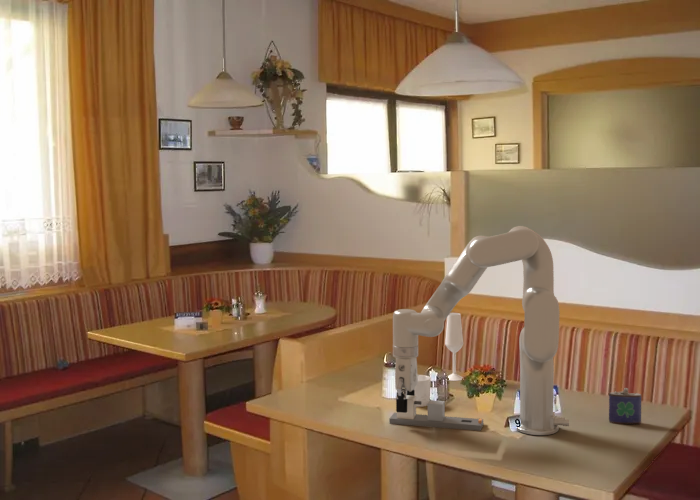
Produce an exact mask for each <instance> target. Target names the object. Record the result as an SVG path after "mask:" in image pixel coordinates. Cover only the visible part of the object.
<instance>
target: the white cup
mask: <svg viewBox="0 0 700 500" xmlns="http://www.w3.org/2000/svg"><path fill="white" fill-rule="evenodd" d="M417 377H418V383H417V386H416V387H415V388H414V390H415V396H416V401H421V405H418V404H416V408H419V407H422V408H423V407H426V406H427V407H428V402H429V401H430V400H431V399H430V397H431V380H432V379H431V377H430V376H429V375H424V374H417Z"/></svg>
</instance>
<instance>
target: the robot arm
mask: <svg viewBox="0 0 700 500" xmlns="http://www.w3.org/2000/svg"><path fill="white" fill-rule="evenodd" d="M518 261H521V263H522V267H523V276H522V277H523V282H522V283H523V285H522V286H523V287H522V288H523V289H522V298H521V299H522V301H521V305H522V309H523V312H524V321H523V322H524V324H523V325H524V326H523V328H522V329H521V331H520V334H519V338H518V339H519V340H518V341H519V342H518V343H519V345H518V346H519V366H520V369H519V370H520V371H519V372H520V373H519V375H520V376H519V420H520V419H521V425H522V426H521V427H517V430H516V431H518V432H520V433H523V434H526V435H532V436H547V435H548V436H549V435H553V434H556V433H557V432H559V429H560V428H559V427H560V426H563V427H569V426H570V419H566V417H560V416H559V417H558V416H557V415H556V412H555V411H554V377H555V376H554V375H555V373H554V371H555V369H554V368H555V367H554V365H555V363H554V357H555V355H556V354H557V352H558V349H559V343H560V342H559V339H560V313H561V312H560V304H559V301H558V299H557V297H556V296H555V292H554V287H555V285H554V284H555V283H554V281H555V279H554V278H555V277H554V272H555V271H554V259H553V255H552V252H551V249H550V247H549V245H548V244H547V242H546V241H545V239H544V238H543V237H542V236H541V235H540V234H539V233H537V231H534V230H533V229H532V228H529V227H527V226H525V225H517V226H513V227H512V228H511V229H510V230H509V231H508V232H505V233H500V234H496V235H491V236H487V235H477V236H474V237H472V239H470V241H469V242H467V244H466V245H465V247H464V249H463V250H462V252H461V253H460V255H459V257H458V258H457V259H456V260H455V262H454V263H453V265H452V267H451V268H450V269H449V270H448V272H447V273H446V274H445V276H444V278H443V280H442V281H441V283H440V284H439V285H438V287H437V288H436V290H435V291H434V293H433V294H432V296H431V297H430V298H429V299H428V301H427V302H426V304H425V305H424V307H423V308H422V310H421V311H420V312H417V311H416V310H415V309H411V308H410V309H409V308H401V309H397V310H394V312H393V314H392V357H393V358H395V368H394V370H395V371H394V375H395V376H394V378H395V379H394V384H395V385H394V387H395V388H394V389H395V390H396V396H395V398H396V399H395V408H396V409H395V411H396V413H397V412H403V413H406V412H407V399H406V396H407V395H412V396H415V390H414V388H415V387H416V386H417V383H418V377H417V375H418V361H417V360H418V359H417V358H418V357H419V336H420V337H421V336H422V337H427V338H433V337H437V336H439V335H440V334H441V333H442V332H443V331H444V328H445V321H447V317H448V315H449V314H450V313H452V311H453V309H454V308H455V307H456V305H457V304H458V303H459V302H460V301H461V300H462V299H463V298H465V297H467V295H469V294H470V293H471V292H472V290H473V289H474V288H475V286H476V284H477V283H478V281H479V280H480V278H481V277H482V276H483V274H484V273H485V272H486V271H487V268H490V267H495V266H497V267H498V266H501V265H504V264H505V265H506V264H510V263H513V262H518Z"/></svg>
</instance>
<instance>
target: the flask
mask: <svg viewBox="0 0 700 500" xmlns="http://www.w3.org/2000/svg"><path fill="white" fill-rule="evenodd" d="M608 398H609V399H608V403H609V405H608V406H609V407H608V422H609V424H616V425H637V426H638V425H641V423H642V394H641V393H637V392H635V393H629V388H627V387H624V388H623V390H622V391H616V390H615V391H612V392H609V394H608Z"/></svg>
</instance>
